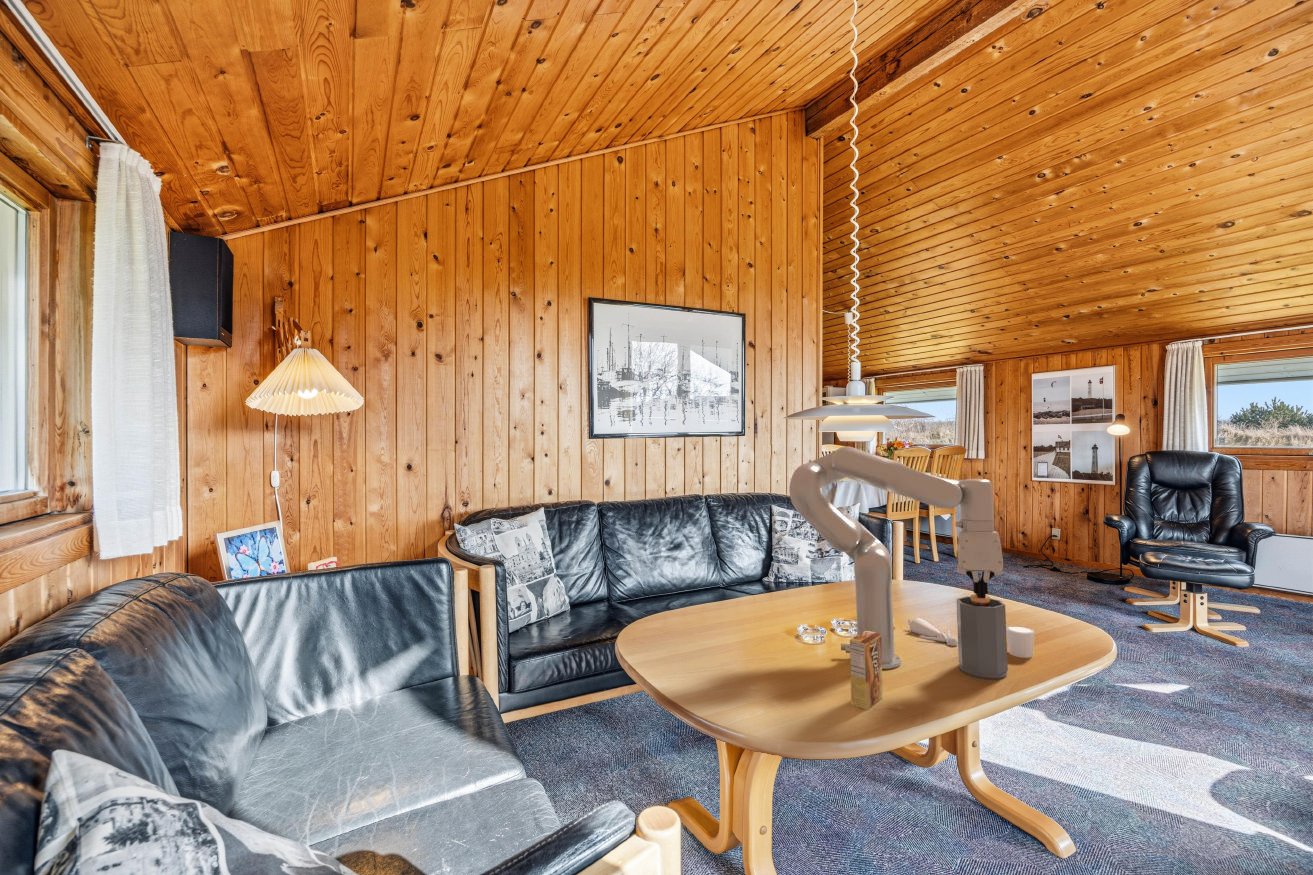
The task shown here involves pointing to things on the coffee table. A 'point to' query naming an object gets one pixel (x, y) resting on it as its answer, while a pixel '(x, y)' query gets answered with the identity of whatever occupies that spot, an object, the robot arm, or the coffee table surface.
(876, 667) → the candy box
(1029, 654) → the white cylinder
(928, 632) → the woman figurine
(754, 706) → the coffee table surface
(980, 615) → the press pot
